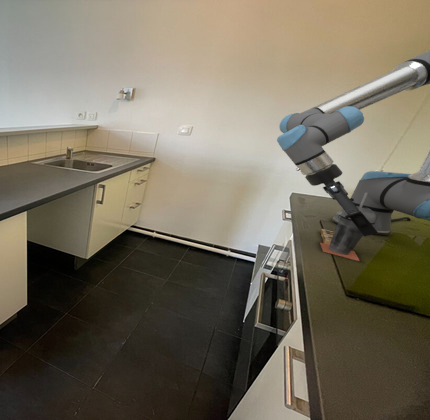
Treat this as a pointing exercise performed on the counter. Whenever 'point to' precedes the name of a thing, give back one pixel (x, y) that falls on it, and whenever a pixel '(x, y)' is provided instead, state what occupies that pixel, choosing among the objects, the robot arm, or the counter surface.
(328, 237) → the oak tile
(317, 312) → the counter surface
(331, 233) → the oak tile
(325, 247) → the slot pad
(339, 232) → the beverage cup
